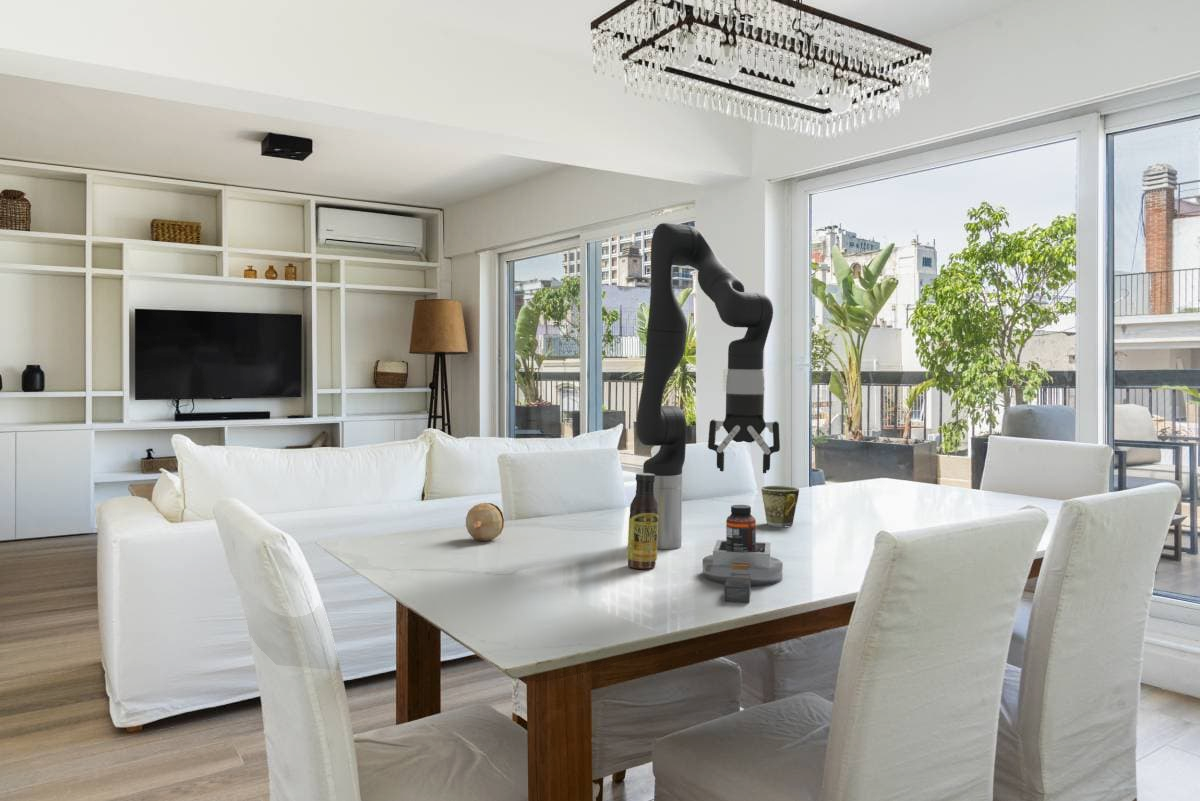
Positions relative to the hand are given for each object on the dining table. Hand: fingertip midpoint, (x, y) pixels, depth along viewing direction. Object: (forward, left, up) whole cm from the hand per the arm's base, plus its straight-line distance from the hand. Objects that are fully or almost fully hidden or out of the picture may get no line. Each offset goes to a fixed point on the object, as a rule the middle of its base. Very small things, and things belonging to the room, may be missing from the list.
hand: (743, 471), depth 168 cm
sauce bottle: (-21, +3, -22) cm, 30 cm away
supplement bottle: (0, 0, -19) cm, 19 cm away
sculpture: (-63, +20, -22) cm, 70 cm away
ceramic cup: (+8, +58, -22) cm, 62 cm away
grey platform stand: (0, -6, -21) cm, 22 cm away
